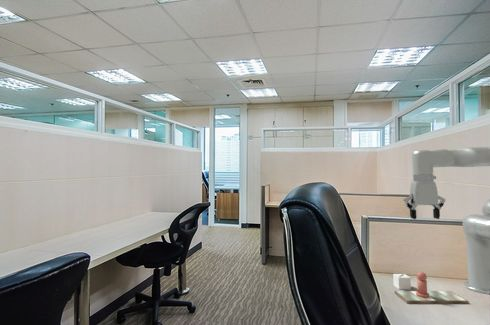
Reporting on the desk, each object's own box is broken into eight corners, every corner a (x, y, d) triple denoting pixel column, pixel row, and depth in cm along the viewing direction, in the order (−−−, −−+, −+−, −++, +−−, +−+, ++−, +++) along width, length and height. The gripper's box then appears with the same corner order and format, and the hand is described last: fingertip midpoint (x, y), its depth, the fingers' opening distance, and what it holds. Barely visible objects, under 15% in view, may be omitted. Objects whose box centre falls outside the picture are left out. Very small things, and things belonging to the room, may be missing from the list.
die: (404, 285, 132) (404, 273, 132) (410, 289, 127) (410, 277, 127) (393, 285, 132) (393, 273, 132) (399, 289, 127) (398, 277, 127)
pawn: (425, 293, 119) (424, 270, 120) (431, 297, 115) (430, 273, 115) (414, 293, 119) (413, 270, 120) (420, 297, 115) (419, 273, 116)
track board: (451, 293, 122) (450, 290, 122) (468, 303, 112) (468, 300, 112) (394, 293, 122) (394, 290, 122) (407, 303, 112) (407, 300, 112)
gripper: (438, 178, 131) (440, 217, 130) (398, 179, 131) (400, 217, 130) (449, 178, 123) (451, 219, 122) (407, 179, 124) (409, 220, 123)
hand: (425, 218), depth 126 cm, fingers open, 9 cm apart
